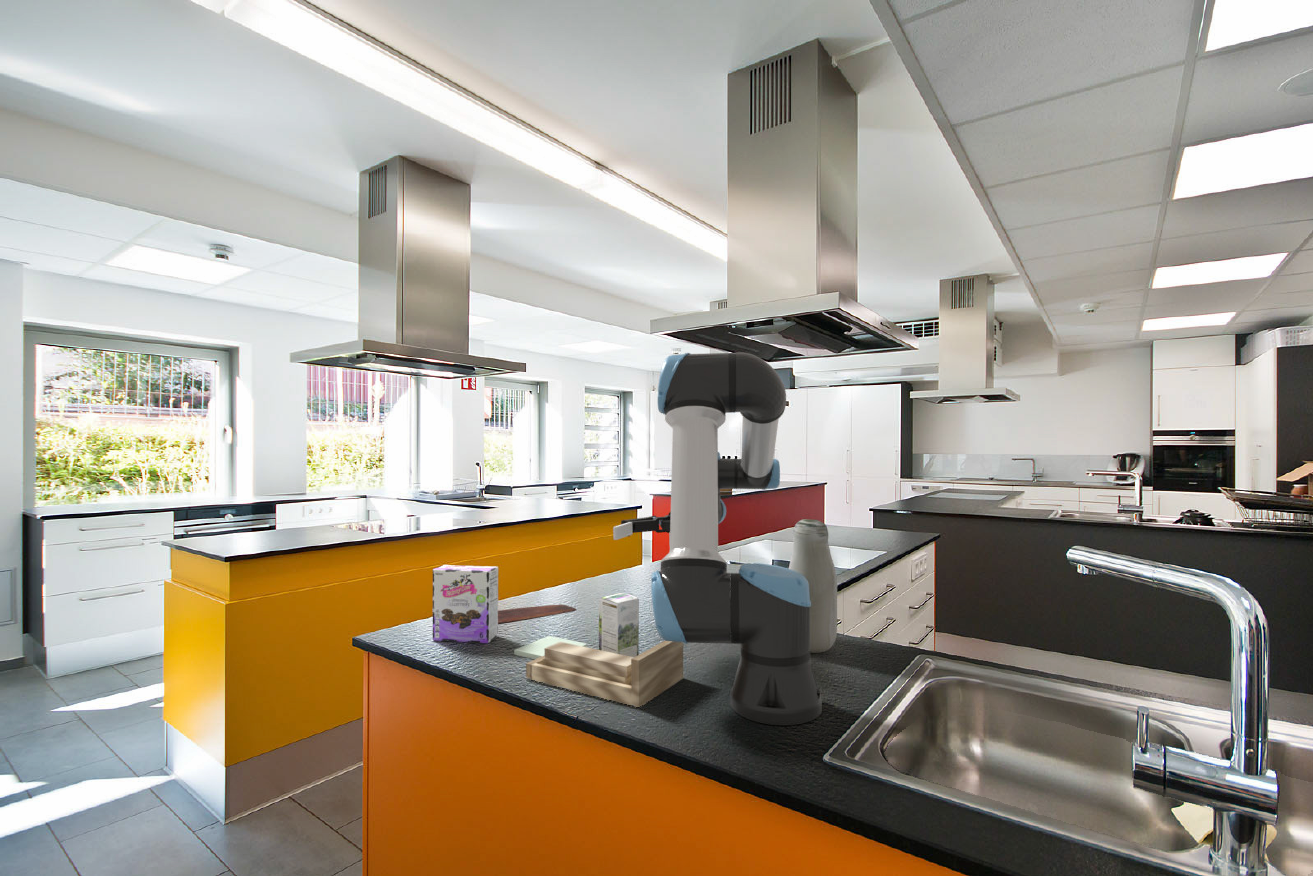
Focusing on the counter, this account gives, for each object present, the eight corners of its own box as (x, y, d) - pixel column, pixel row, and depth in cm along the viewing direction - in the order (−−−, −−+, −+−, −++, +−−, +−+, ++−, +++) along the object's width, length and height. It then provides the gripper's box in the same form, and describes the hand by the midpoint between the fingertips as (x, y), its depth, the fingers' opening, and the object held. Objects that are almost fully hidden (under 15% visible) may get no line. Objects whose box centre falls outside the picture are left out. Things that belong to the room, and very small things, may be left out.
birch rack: (683, 678, 117) (682, 635, 117) (638, 708, 104) (638, 660, 104) (577, 655, 130) (577, 617, 131) (526, 679, 117) (525, 637, 117)
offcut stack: (643, 692, 111) (643, 659, 111) (629, 701, 107) (628, 667, 107) (558, 672, 122) (558, 641, 122) (543, 679, 118) (542, 648, 118)
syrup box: (619, 663, 125) (619, 591, 126) (639, 670, 121) (639, 596, 121) (598, 671, 121) (597, 596, 121) (618, 678, 117) (617, 602, 117)
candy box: (431, 641, 140) (431, 568, 141) (444, 633, 146) (444, 563, 146) (488, 644, 138) (488, 570, 138) (499, 636, 144) (499, 565, 144)
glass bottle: (843, 648, 134) (841, 518, 134) (827, 662, 125) (825, 523, 125) (799, 640, 139) (798, 515, 139) (781, 653, 131) (780, 520, 131)
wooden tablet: (565, 599, 173) (579, 603, 165) (565, 608, 173) (579, 612, 165) (469, 614, 160) (479, 618, 151) (469, 623, 160) (479, 628, 151)
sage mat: (587, 648, 135) (587, 643, 135) (554, 663, 125) (554, 659, 125) (548, 640, 140) (548, 636, 140) (514, 654, 131) (514, 649, 131)
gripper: (737, 540, 141) (696, 560, 122) (643, 530, 153) (593, 548, 135) (736, 507, 140) (695, 523, 122) (642, 500, 153) (592, 514, 134)
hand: (642, 536), depth 128 cm, fingers open, 13 cm apart
